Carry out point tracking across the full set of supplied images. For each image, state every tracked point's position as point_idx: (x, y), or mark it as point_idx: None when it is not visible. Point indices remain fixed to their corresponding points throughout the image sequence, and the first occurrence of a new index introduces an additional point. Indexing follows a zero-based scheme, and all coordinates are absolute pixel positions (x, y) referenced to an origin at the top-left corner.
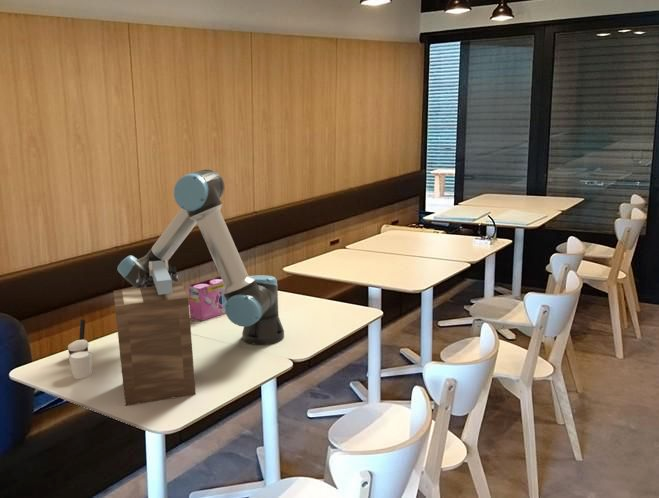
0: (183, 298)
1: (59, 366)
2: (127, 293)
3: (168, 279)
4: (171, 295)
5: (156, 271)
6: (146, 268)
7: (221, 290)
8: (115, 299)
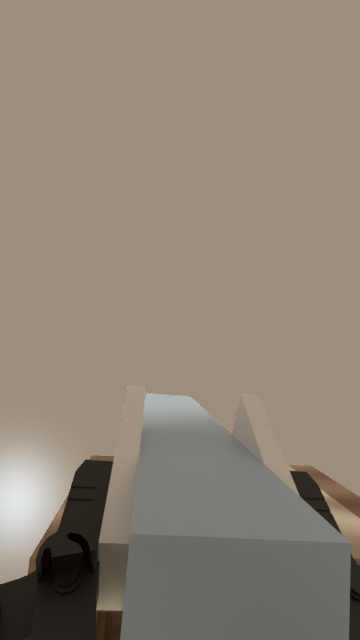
0: (107, 457)
1: None
2: (336, 516)
3: (154, 394)
4: None
5: (199, 416)
6: (298, 480)
7: None
8: (349, 492)
